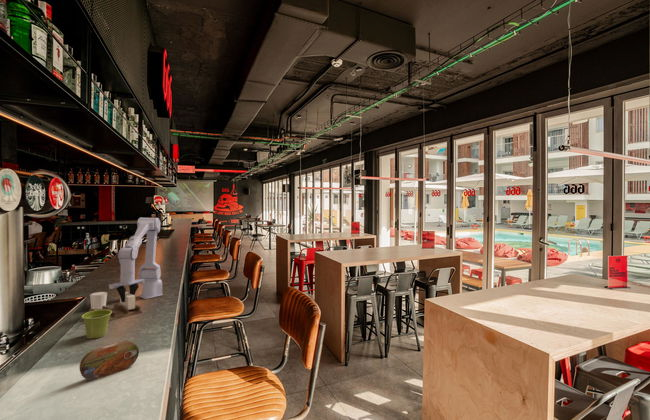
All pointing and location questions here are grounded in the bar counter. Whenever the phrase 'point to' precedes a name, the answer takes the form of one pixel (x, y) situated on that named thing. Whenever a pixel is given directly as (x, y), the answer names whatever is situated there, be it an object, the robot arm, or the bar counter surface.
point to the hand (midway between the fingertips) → (127, 300)
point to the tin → (108, 360)
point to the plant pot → (96, 323)
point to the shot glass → (98, 300)
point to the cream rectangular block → (128, 301)
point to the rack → (120, 311)
